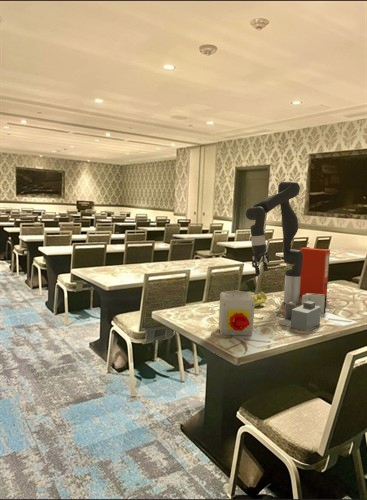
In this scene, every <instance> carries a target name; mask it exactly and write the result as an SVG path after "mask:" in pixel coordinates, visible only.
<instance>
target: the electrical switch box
mask: <svg viewBox="0 0 367 500" xmlns="http://www.w3.org/2000/svg"><path fill="white" fill-rule="evenodd" d="M218 310H219V312H218V329H219V332H220V335H222V336H252V335H253V331H254V320H255V307H254V299H253V295H252V293H251V292H247V291H242V290H237V289H235V290H229V291H227V290H226V291H221V292H220V293H219V309H218Z"/></svg>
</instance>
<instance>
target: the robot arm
mask: <svg viewBox="0 0 367 500" xmlns="http://www.w3.org/2000/svg"><path fill="white" fill-rule="evenodd" d="M300 189H301V188H300V184H299V183H298V182H297V181H291V180H290V181H289V180H288V181H287V180H285V181H280V182H279V183H278V188H277V193H275V194H271V195H269V196H268V197H266V198H264V199H262V200H261V201H260V202H258V203H255V204H253V205H251V206H250V207H248V208H247V210H246V212H245V217H246V219H248V220H249V221H254V224H252V225H251V226H250V235H251V236H250V237H251V238H250V239H251V241H250V242H251V249H252V253H253V254H254V255H253V256H251V267H252V268H254V269H255V271H254V272H255V275H256V276H257V275H258V276H259V275H260V273H261V271H260V265H261V264H262V267H263V272H268V271H269V270H268V264H269V263H270V257H269V256H270V255H269V252H268V251H267V243H266V235H265V229H264V227H265V221H266V214H267V213H269V212H271V211H273V209H275V208H276V207H278V206H280V213H281V215H280V216H281V227H282V237H283V238H282V239H283V246H282V247H283V250H282V253H283V255H282V256H283V257H282V258H283V262H284V264H287V265H293V268H290V269H286V270H285V275H284V276H285V277H284V294H283V295H284V296H283V303H285V304H286V303H289V302H292V303H295V304H296V305H299V304H300V297H301V295H300V282H301V271H302V263H303V252H302V251H301V250H300V249H292V241H293V239H294V238H295V236H296V235H297V233H298V231H299V220H298V216H297V214H296V212H295V211H294V210H293V207H292V206H291V204H290V203H291V202H290V200H291V199H294V198H295V197H297V196H298V195H299V194H300V192H301V190H300Z"/></svg>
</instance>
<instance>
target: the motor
mask: <svg viewBox="0 0 367 500" xmlns="http://www.w3.org/2000/svg"><path fill="white" fill-rule="evenodd" d="M321 314H322V313H321V307H320V306H315V302H312V301H306V302H304V303H303V305H302V304H301V305H299V306H296V308H294V309H292V316H291V320H287V319H285V318H278V324H279V325H283V326H286V327H290V328H293V329H297V330H300V331H304V332H307V330H308V331H309V330H311V329H313V328H314V326H315V327H317V326H318V325H320V324H321ZM316 325H317V326H316ZM312 327H313V328H312Z"/></svg>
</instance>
